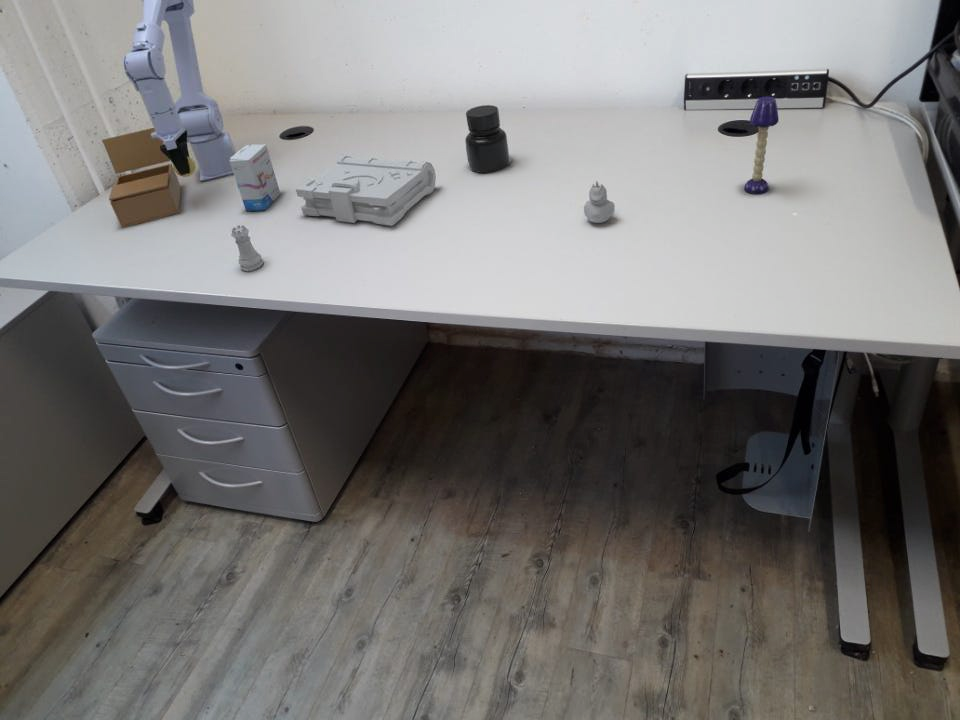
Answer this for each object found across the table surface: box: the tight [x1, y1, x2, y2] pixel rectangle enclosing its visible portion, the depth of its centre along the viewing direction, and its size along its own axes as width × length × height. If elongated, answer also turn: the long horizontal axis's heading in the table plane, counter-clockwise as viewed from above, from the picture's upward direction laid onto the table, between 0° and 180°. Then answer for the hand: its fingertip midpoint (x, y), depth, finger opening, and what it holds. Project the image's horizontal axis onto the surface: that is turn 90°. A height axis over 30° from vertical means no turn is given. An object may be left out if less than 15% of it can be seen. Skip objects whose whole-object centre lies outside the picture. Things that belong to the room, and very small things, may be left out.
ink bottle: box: [464, 104, 510, 174], centre depth 161 cm, size 10×9×12 cm
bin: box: [108, 163, 182, 228], centre depth 171 cm, size 16×12×7 cm
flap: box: [101, 127, 171, 175], centre depth 174 cm, size 8×12×1 cm
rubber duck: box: [583, 180, 616, 224], centre depth 135 cm, size 5×7×8 cm
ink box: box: [230, 144, 281, 212], centre depth 162 cm, size 9×5×12 cm, turn 168°
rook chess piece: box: [231, 224, 264, 272], centre depth 140 cm, size 4×4×8 cm
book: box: [294, 154, 437, 227], centre depth 156 cm, size 19×28×8 cm
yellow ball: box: [172, 156, 196, 178], centre depth 167 cm, size 5×5×5 cm
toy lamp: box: [743, 96, 780, 195], centre depth 133 cm, size 5×5×17 cm
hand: (185, 169), depth 168 cm, fingers closed on yellow ball, 4 cm apart
